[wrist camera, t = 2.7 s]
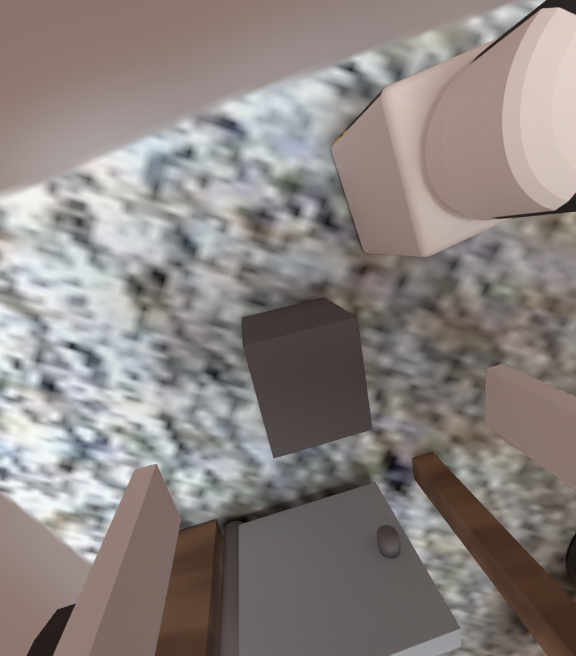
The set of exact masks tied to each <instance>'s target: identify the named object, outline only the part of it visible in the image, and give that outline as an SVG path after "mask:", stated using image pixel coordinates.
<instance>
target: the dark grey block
mask: <svg viewBox="0 0 576 656" xmlns="http://www.w3.org/2000/svg"><path fill="white" fill-rule="evenodd" d="M242 336H243V348H244V351H245V355H246V359H247V362H248V366H249V370H250V373H251V377H252V381H253V385H254V388H255V392H256V396H257V399H258V403H259V407H260V410H261V414H262V418H263V421H264V425H265V429H266V432H267V436H268V440H269V444H270V447H271V451H272V455H273V458H277V457H280V456H284V455H287V454H290V453H294V452H297V451H301V450H304V449H307V448H311V447H314V446H318V445H321V444H324V443H328V442H331V441H335V440H338V439H341V438H345V437H348V436H352V435H355V434H358V433H362V432H365V431H369V430H372V422H371V415H370V408H369V400H368V393H367V386H366V378H365V371H364V364H363V356H362V349H361V342H360V334H359V327H358V319H357V317H356V316H354V315H353V314H351V313H349V312H348V311H346V310H344V309H343V308H341V307H339V306H338V305H336V304H334V303H333V302H331V301H329V300H328V299H326V298H321V299H317V300H313V301H309V302H304V303H300V304H296V305H292V306H288V307H284V308H280V309H275V310H271V311H267V312H263V313H259V314H255V315H250V316H246V317H242Z"/></svg>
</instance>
